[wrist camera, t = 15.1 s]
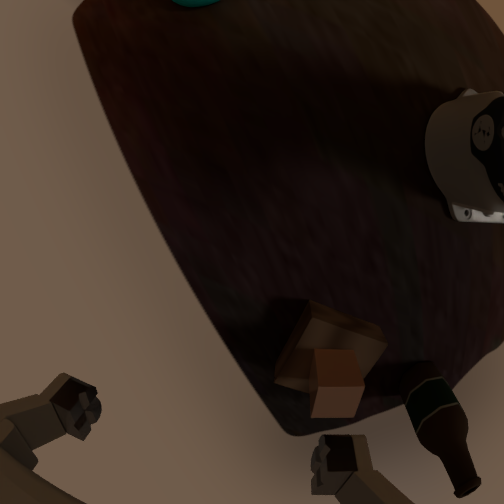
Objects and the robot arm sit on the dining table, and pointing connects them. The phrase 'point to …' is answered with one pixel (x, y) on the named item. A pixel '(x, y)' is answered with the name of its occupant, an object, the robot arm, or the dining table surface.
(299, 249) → the dining table surface
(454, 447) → the beer bottle
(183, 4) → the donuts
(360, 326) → the walnut block
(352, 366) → the terracotta block
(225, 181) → the dining table surface
